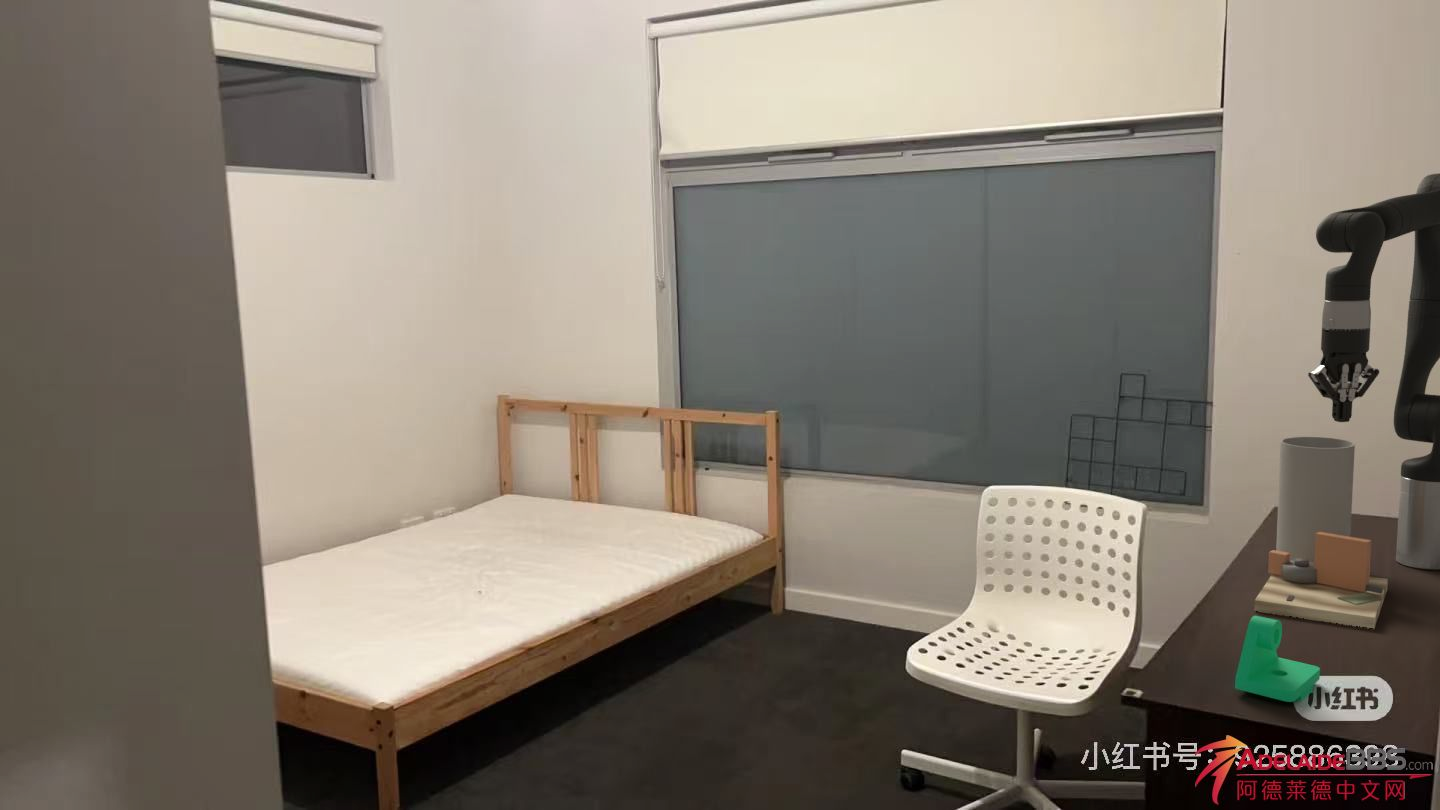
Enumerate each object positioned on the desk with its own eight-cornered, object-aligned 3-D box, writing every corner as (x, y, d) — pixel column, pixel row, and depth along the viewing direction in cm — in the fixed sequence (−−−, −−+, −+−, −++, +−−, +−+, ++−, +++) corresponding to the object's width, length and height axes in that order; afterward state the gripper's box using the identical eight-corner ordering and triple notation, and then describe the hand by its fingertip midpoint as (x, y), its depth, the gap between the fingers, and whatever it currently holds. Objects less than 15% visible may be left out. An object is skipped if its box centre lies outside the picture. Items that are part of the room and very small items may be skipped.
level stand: (1277, 575, 209) (1278, 546, 208) (1388, 589, 198) (1390, 559, 197) (1254, 611, 189) (1255, 580, 189) (1375, 629, 179) (1377, 596, 178)
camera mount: (1291, 710, 151) (1294, 639, 149) (1234, 695, 156) (1237, 626, 155) (1321, 684, 159) (1324, 616, 157) (1266, 671, 164) (1268, 605, 163)
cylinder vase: (1352, 580, 204) (1359, 449, 200) (1278, 574, 209) (1283, 446, 205) (1344, 562, 215) (1350, 437, 212) (1273, 557, 220) (1278, 435, 217)
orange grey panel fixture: (1262, 575, 201) (1264, 528, 200) (1278, 568, 205) (1279, 521, 204) (1374, 598, 187) (1377, 547, 186) (1388, 590, 191) (1391, 540, 190)
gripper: (1363, 322, 199) (1358, 416, 201) (1298, 326, 197) (1294, 420, 199) (1395, 325, 191) (1389, 422, 194) (1327, 328, 189) (1323, 426, 192)
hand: (1341, 421), depth 196 cm, fingers closed
